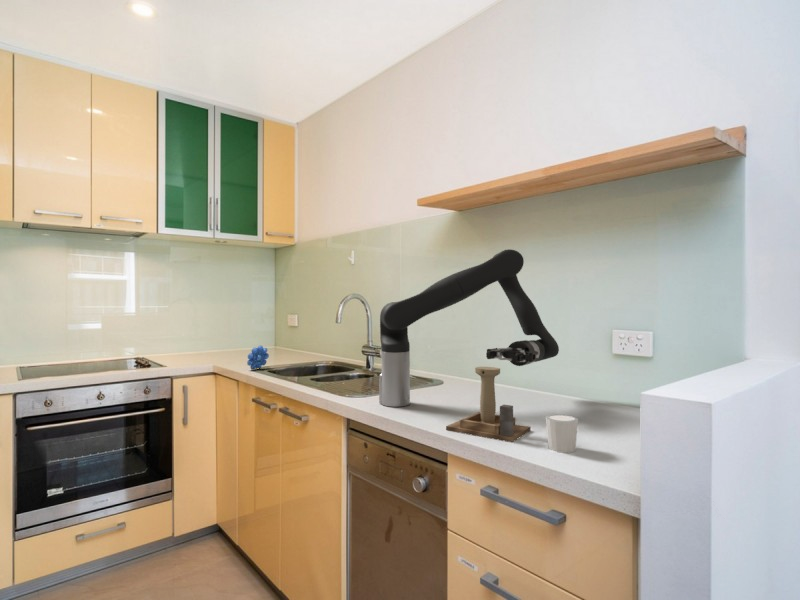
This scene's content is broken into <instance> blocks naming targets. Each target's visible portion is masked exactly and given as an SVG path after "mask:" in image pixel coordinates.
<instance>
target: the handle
mask: <svg viewBox="0 0 800 600" xmlns="http://www.w3.org/2000/svg"><path fill="white" fill-rule="evenodd" d="M474 371H475V373H476V374H477V375H478V376H480V396H479V397H480V398H479V401H480V402H479V412H480V413H481V419H482V421H481V422H482V423H488V424H495V421H494V420H495V414H496V411H497V405H496V403H497V402H496V390H495V388H496V387H495V378H496V377H497V376H498V375H500V374H501V368H499V367H494V366H493V367H492V366H475V369H474Z"/></svg>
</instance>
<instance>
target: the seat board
mask: <svg viewBox="0 0 800 600" xmlns="http://www.w3.org/2000/svg"><path fill="white" fill-rule="evenodd" d="M481 421H482V419H481V413H480V411H478V412H475V413H473V414H471V415H469V416H467V417H463V418H462V419H459V420H457V421H455V422H453V423H451V424H447V425H446V426H445V430H446V431H449V432H456V433H459V432H461V433H460V434H465V433H466V435H470V434H472V435H471V436H476V435H477V436H476V437H481V436H482V437H481V438H486V437H487V439H492V438H494V439H493V440H497V439H499V440H498V441H503V440H505V442H508V441H511V442H510V443H513V442H515V441H517V440H518V439H519V437H520V438H521V437H522V435H523V436H524V435H526V434H528V433H529V432H531V426H529V425H528V426H527V425H522V424H516V417H515V416H514V405H510V404H502V405H499V414H496V413H495V420H494V421H495V424H488V423H482V422H481ZM517 438H518V439H517ZM514 440H515V441H514Z"/></svg>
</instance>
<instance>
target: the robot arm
mask: <svg viewBox="0 0 800 600" xmlns="http://www.w3.org/2000/svg"><path fill="white" fill-rule="evenodd" d="M523 267H524V257H523V255H522V254H521V253H520V252H519V251H517V250H514V249H511V248H510V249H504V250H502V251H500V252H498V253H496V254H494V255H493V256H492V258H489V259H488V260H486V261H484V262H483V263H480V264H478V265H475V266H472V267H469V268H465V269H464V270H460V271H458V272H455V273H452V274H449V275H448V276H445V277H444V278H442V279H440V280H437V281H435V283H433V284H431V285H429V286H428V287H427V288H426V289H424V290H423V291H421V292H420V293H418V294H416V295H413V296H410V297H408V298H405V299H403V300H400V301H394V302H389V303H386V304H385V305H384V306H383V307H382V308H381V311H380V315H379V329H380V330H379V331H380V332H379V333H380V336H379V337H380V345H381V346H380V347H381V348H380V351H381V373H380V374H379V375H378V385H379V386H378V396H379V397H378V400H379V401H378V402H379V404H381V405H383V406H385V407H394V408H395V407H398V408H399V407H406V406H409V405H410V403H411V377H410V375H411V373H410V372H411V368H410V367H411V366H410V363H411V361H410V360H411V359H410V349H411V347H410V341H409V336H408V333H409V331H408V327H409V326H411V325H413V324H414V323H416V322H417V321H419V320H421V319H422V318H424V317H426V316H427V315H430V314H433V313H435V312H438V311H440V310H441V311H442V310H444V309H446V308H448V307H451V306H453V305H455V304H458V303H460V302H461V301H464V300H466V299H468V298H469V297H472V296H473V295H475V294H476V293H478V292H480V291H481V290H483V289H484V288H487V286H490V285H491V284H493V283H496V282H498V284H499V286H501V288H502V290H503V292H504V294H505V296H506V298H507V299H508V301H509V303H510V305H511V307H512V309H513V311H514V315H515V316H516V318H517V321H518V322H519V325H520V327H521V330H522V332H523V334H524V335H525V336H537V337H539V339H536V340H535V339H534V340H533V339H531V340H527V339H525V340H518V341H513V342H511V343H510V344H509V345H508V347H506V348H505V347H500V348H499V347H495V348H487V349H486V358H487V360H493V359H497V360H499V361H509V363H511V364H512V365H514V366H516V367H523V366H527V365H530V364H534V363H537V362H541V361H543V360H547V359H551V358H554V357H556V356H558V354H559V352H560V349H559V347H560V346H559V344H558V342H557V341H556V339H555V338H554V337H553V336H552V334H551V333H550V332H549V331H548V329H547V328H546V327H545V325H544V323H543V320H542V319H541V316H540V313H539V312H538V309H537V307H536V305H535V304H534V303H533V301H532V300H531V299H530V297H529V296H528V295H527V293H526V292H525V290H524V289H523V287H522V285H521V283H520V282H519V279H518V274H519V273H520V272H521V271H522V269H523Z"/></svg>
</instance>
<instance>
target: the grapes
mask: <svg viewBox="0 0 800 600" xmlns="http://www.w3.org/2000/svg"><path fill="white" fill-rule="evenodd" d="M269 357H270V355H269V353H268V348H267V347H263V345H258V346H257V347H253V348H252V349H251V352H249V353H248V355H247V359H248V360H247V361H246V365H247V366H250V367H249V368H250V369H251V370H252V369H254V370H255V369H256V368H261V369H262V367H263V366H265V365H266V364H267V359H268V358H269Z"/></svg>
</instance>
